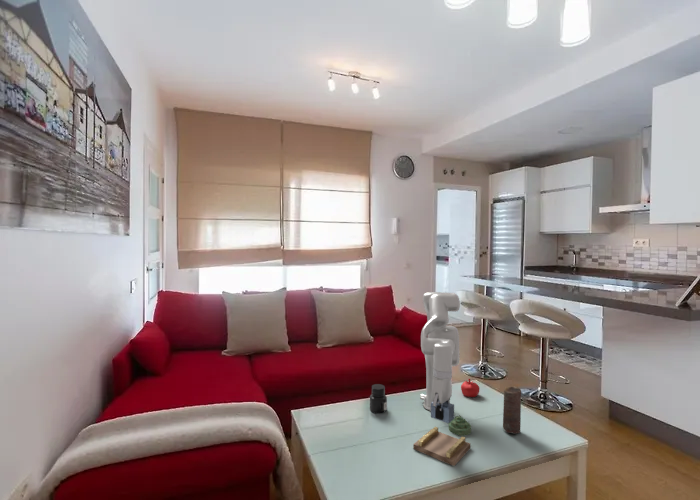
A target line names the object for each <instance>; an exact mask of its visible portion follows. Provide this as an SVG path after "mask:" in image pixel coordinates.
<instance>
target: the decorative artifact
mask: <svg viewBox="0 0 700 500" xmlns="http://www.w3.org/2000/svg"><path fill="white" fill-rule="evenodd" d="M447 424H448V428H447V429H448V431H449V432H450V433H451V434H453V435H456V436H460V437H465V436H469V435H470V434H471V433H472V425H471V423H470V422H469V421H467V419H466V418H464V417H462V415H461V414H459V415H458V416H454V419H453V420H452V421H451V422H450V423H447Z"/></svg>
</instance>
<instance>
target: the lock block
mask: <svg viewBox="0 0 700 500" xmlns="http://www.w3.org/2000/svg"><path fill="white" fill-rule="evenodd" d="M438 401H439V400H438ZM433 402H434V401H433ZM433 402H432V403H431V411H430V418H431V419H432V418H433V419H435V420H438V421H440V422H444V423H446V424H448V423H450V422H451V421H452V420H453V419H454V418H455V404H454V403H447V402H444V403H443V407H442V410H443V420H439V419H436V418H435V407H434V406H433ZM439 402H440V401H439ZM438 405H439V406H440V404H438Z"/></svg>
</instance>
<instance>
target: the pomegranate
mask: <svg viewBox="0 0 700 500" xmlns="http://www.w3.org/2000/svg"><path fill="white" fill-rule="evenodd" d="M460 390H461V393H462V395H463V396H464V397H468V398H475V397H477V396H478V395H479V394H480V391H481V390H480V386H479V384H478V383H476V382H474V380H471V378H468V381H467V380H465V381H463V383H462V384H461V385H460Z"/></svg>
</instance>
